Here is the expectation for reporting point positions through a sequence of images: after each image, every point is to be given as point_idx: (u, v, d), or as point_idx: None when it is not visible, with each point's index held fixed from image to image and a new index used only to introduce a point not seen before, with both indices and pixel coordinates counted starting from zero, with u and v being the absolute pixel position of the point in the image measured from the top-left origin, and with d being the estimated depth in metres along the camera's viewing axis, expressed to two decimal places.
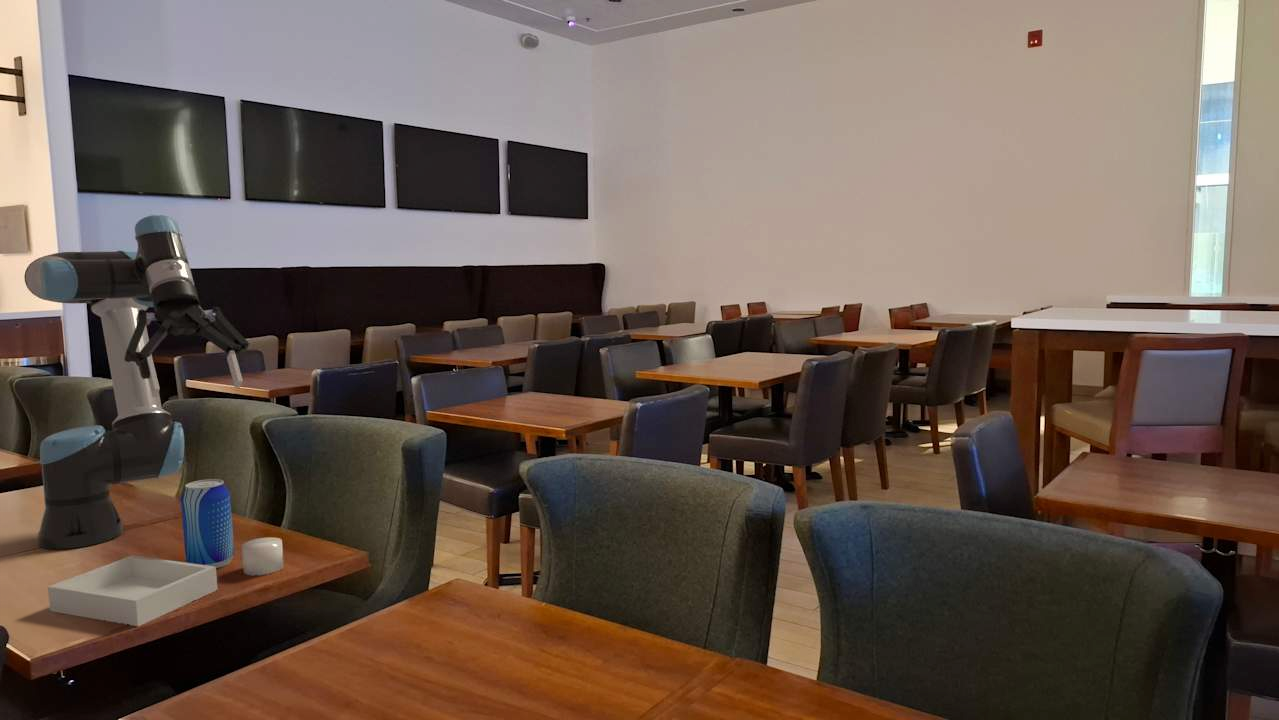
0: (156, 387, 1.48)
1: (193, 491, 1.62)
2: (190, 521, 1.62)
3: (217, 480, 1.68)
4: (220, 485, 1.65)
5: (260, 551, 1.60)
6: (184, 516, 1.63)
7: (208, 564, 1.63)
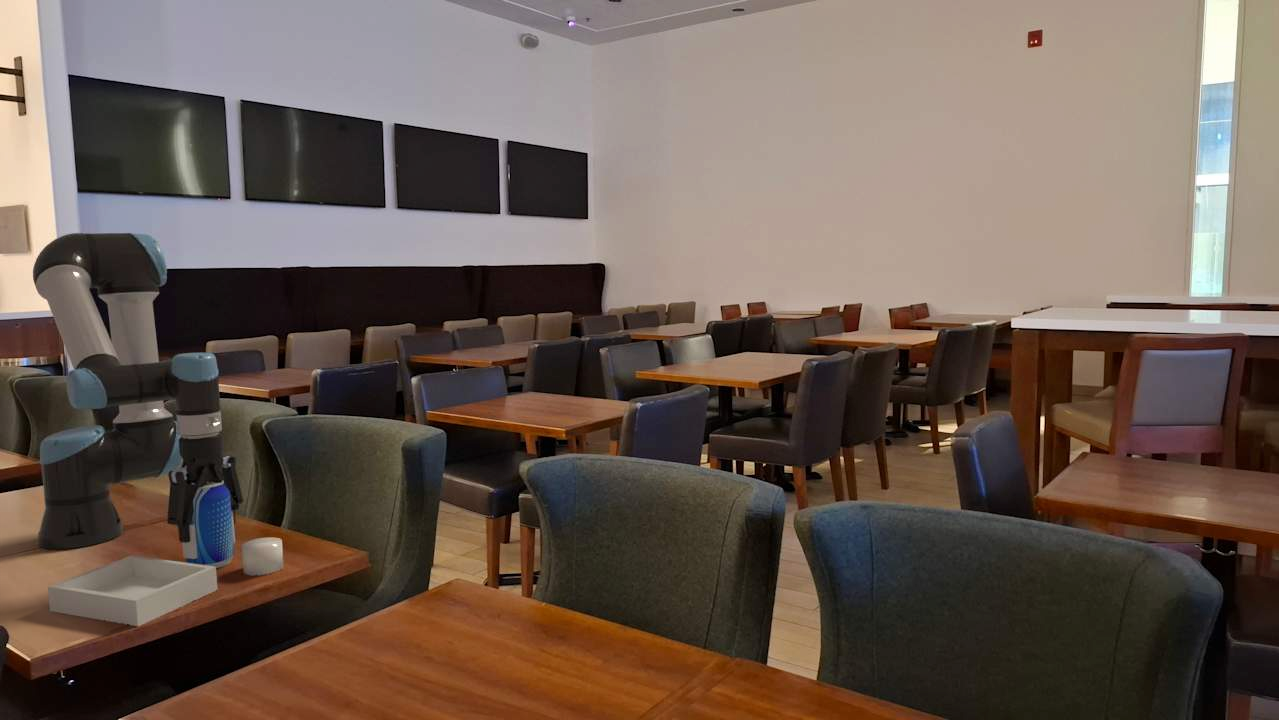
0: (195, 556, 1.62)
1: None
2: None
3: None
4: (220, 485, 1.65)
5: (260, 551, 1.60)
6: None
7: (208, 564, 1.63)
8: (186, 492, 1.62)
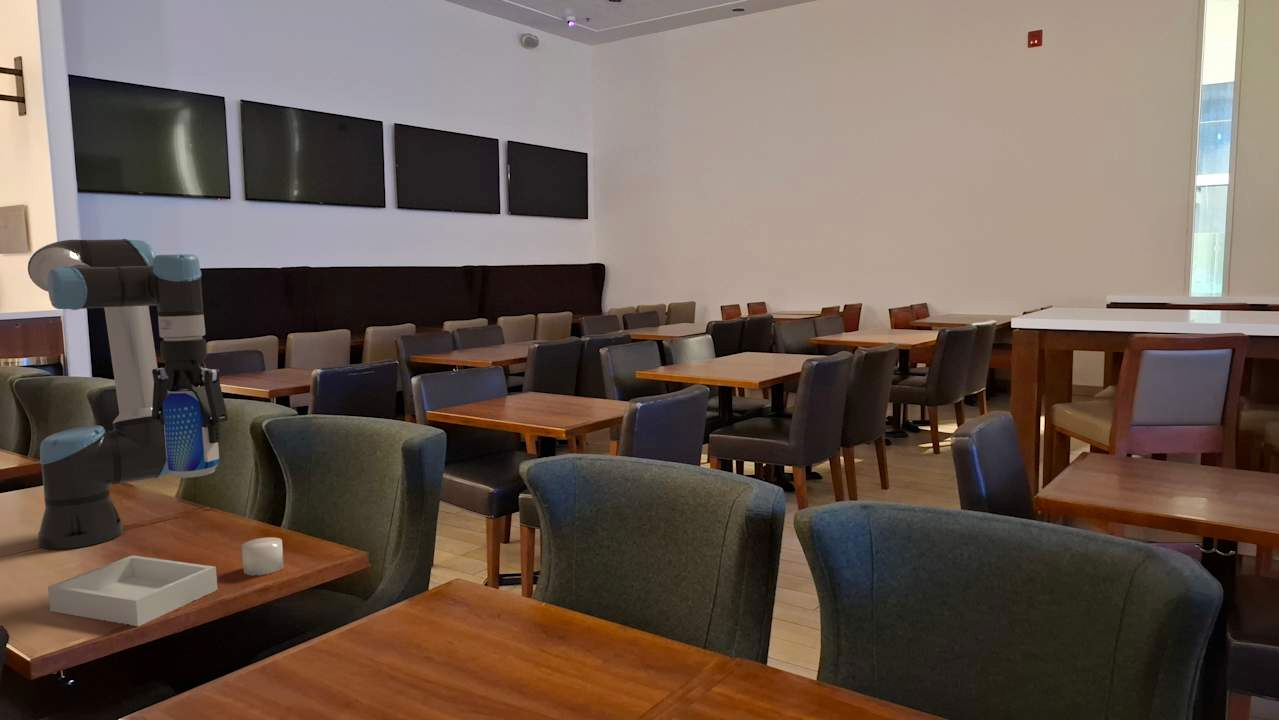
0: None
1: None
2: None
3: None
4: (177, 394, 1.58)
5: (260, 551, 1.60)
6: None
7: None
8: None
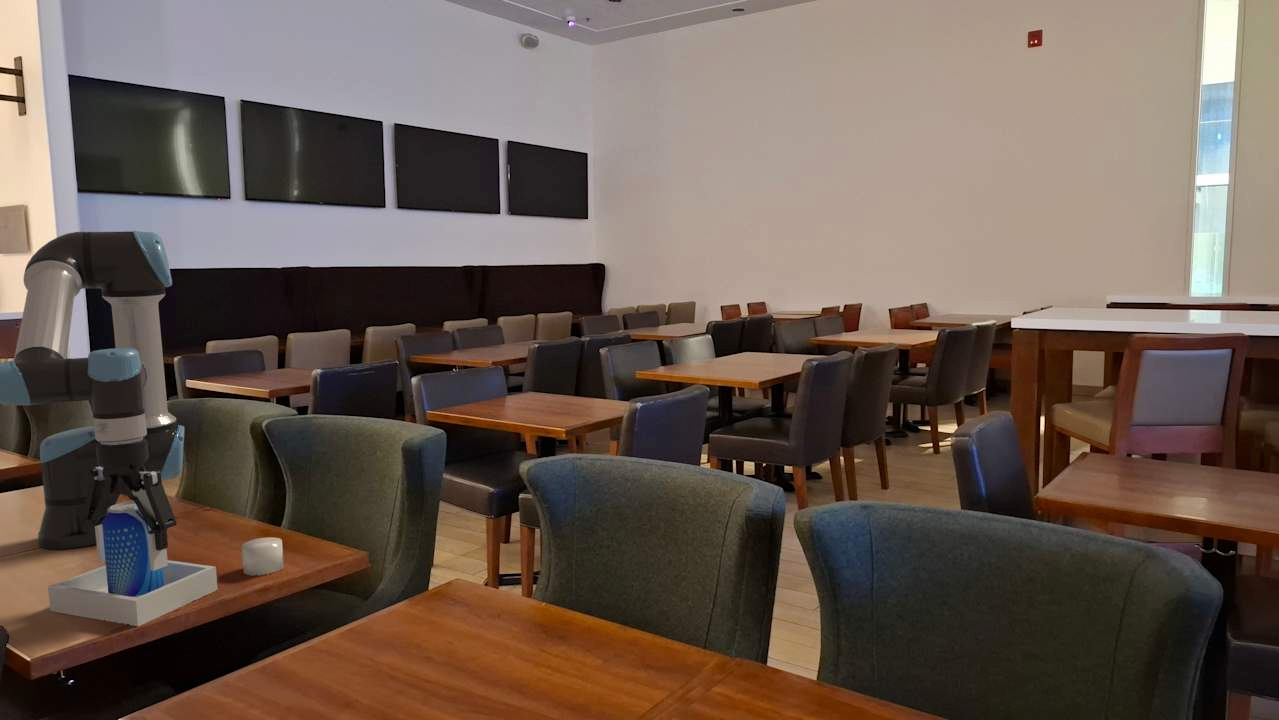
0: (99, 560, 1.50)
1: None
2: None
3: None
4: (117, 514, 1.45)
5: (260, 551, 1.60)
6: None
7: None
8: None
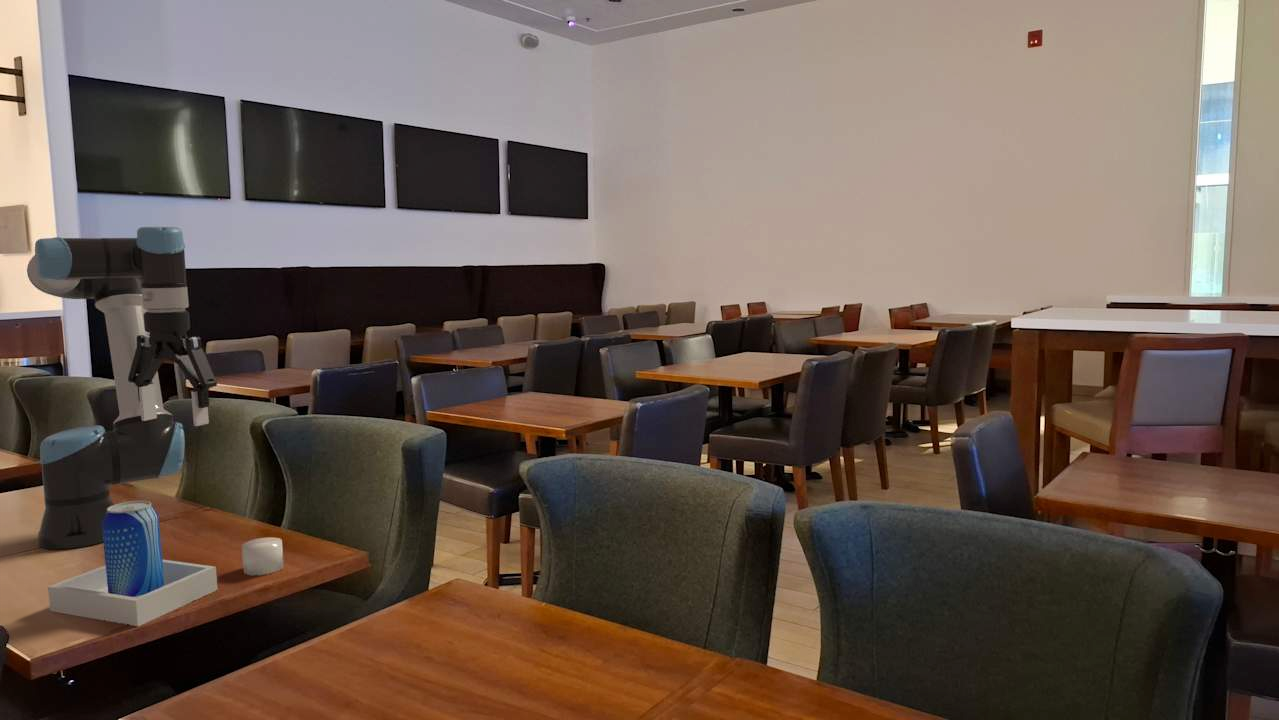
0: (142, 418, 1.66)
1: None
2: None
3: None
4: (117, 514, 1.45)
5: (260, 551, 1.60)
6: None
7: None
8: None
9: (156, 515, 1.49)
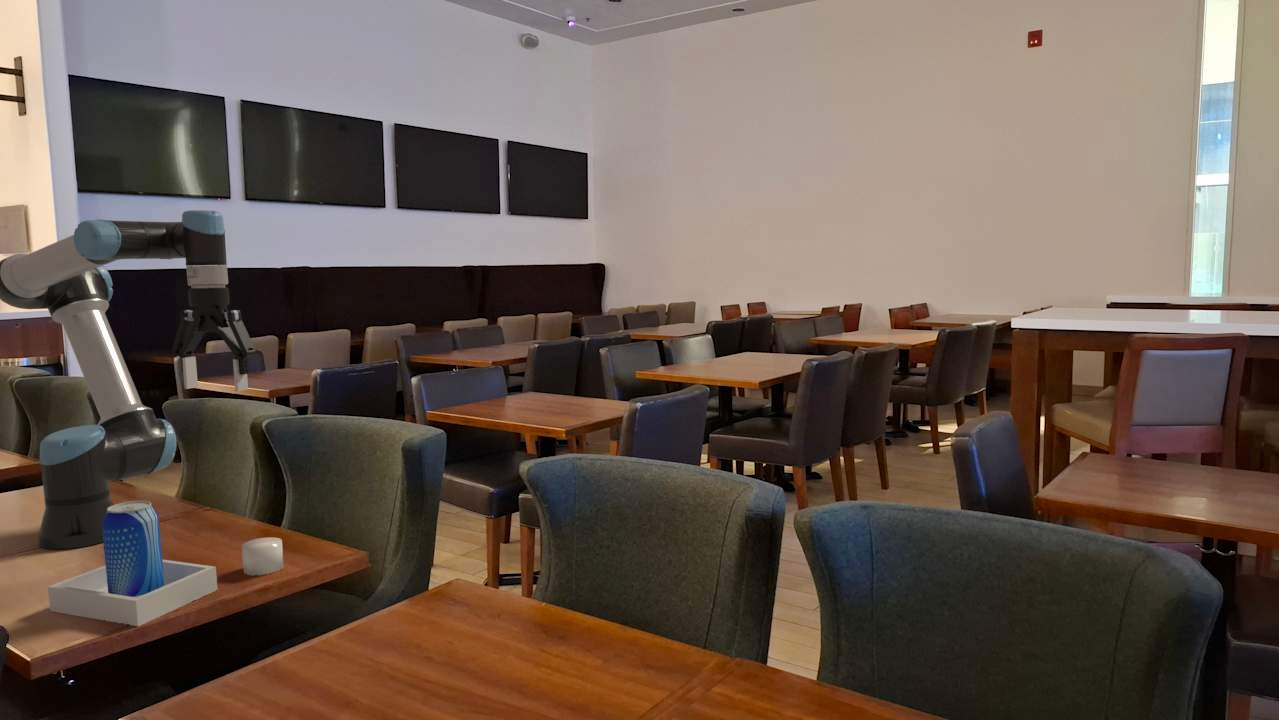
0: (185, 387, 1.81)
1: None
2: None
3: None
4: (117, 514, 1.45)
5: (260, 551, 1.60)
6: None
7: None
8: None
9: (156, 515, 1.49)
